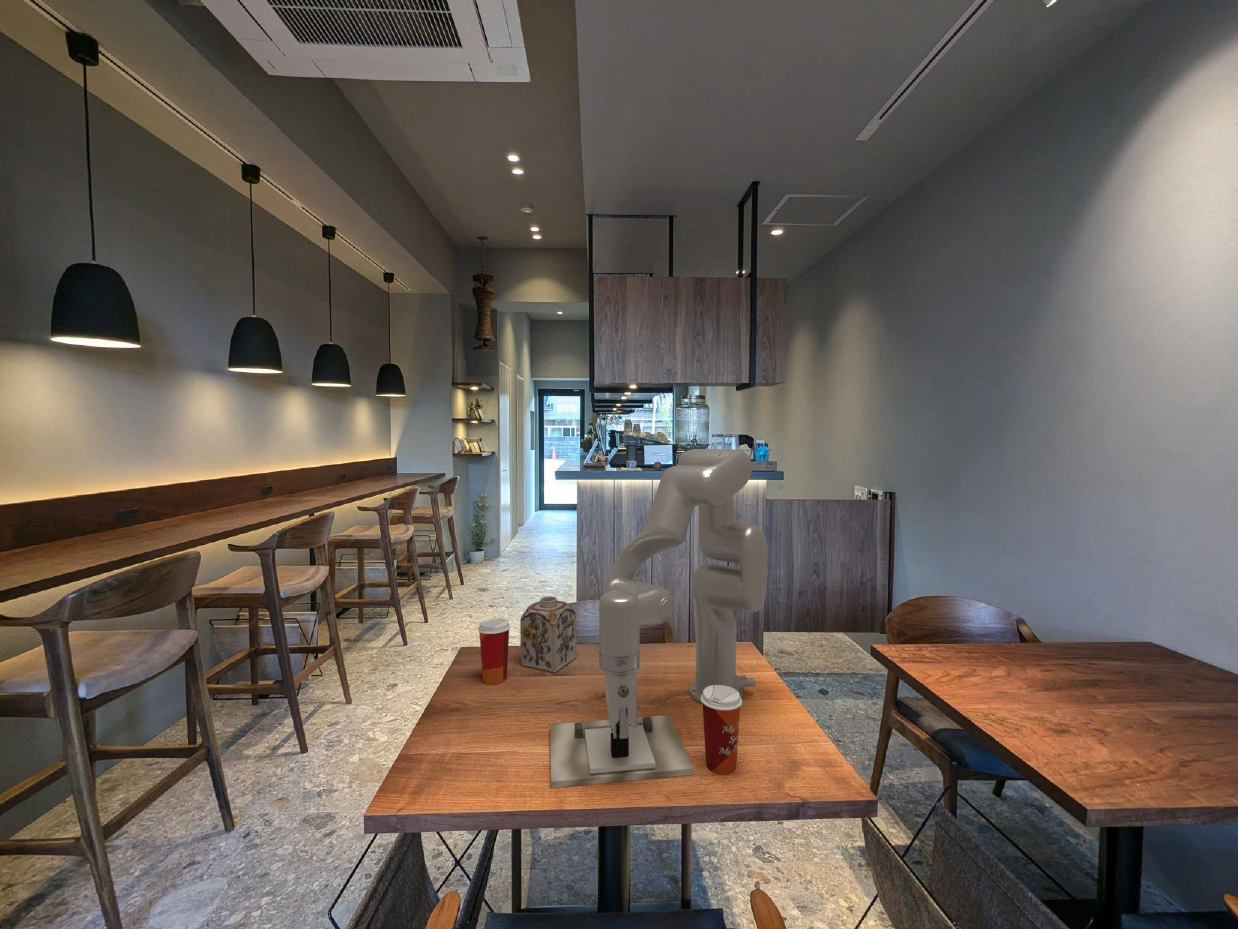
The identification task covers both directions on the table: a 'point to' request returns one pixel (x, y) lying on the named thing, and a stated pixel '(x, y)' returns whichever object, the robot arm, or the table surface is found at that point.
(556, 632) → the decorative jar
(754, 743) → the table surface
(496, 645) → the coffee cup
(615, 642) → the robot arm
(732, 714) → the paper cup
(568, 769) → the tile board
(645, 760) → the glazed tile
